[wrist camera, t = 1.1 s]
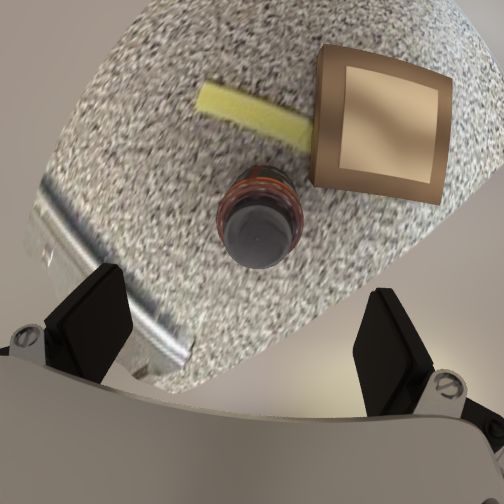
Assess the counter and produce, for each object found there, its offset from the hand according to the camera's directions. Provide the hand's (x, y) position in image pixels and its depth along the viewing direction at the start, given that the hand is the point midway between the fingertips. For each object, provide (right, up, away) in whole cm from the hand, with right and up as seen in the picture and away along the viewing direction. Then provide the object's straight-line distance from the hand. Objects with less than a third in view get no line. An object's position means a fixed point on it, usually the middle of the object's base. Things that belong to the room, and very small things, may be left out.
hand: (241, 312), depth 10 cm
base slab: (+12, +14, +13) cm, 22 cm away
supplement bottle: (+2, +8, +17) cm, 18 cm away
